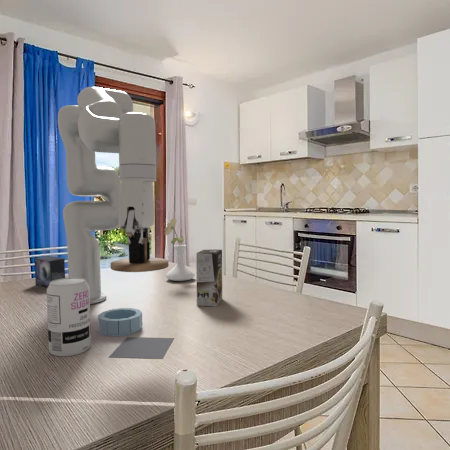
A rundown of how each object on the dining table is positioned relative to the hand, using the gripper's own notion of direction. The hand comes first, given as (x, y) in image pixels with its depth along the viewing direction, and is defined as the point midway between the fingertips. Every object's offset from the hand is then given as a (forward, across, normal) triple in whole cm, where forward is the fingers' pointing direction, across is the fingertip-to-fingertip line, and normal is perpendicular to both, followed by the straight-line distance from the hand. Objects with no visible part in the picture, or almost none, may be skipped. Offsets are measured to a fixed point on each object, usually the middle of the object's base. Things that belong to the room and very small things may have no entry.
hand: (139, 260), depth 79 cm
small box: (+20, -56, -52) cm, 79 cm away
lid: (+1, 0, 0) cm, 1 cm away
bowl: (+19, -10, -8) cm, 23 cm away
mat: (+19, +1, +1) cm, 19 cm away
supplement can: (+19, +3, -14) cm, 24 cm away
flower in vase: (+19, -67, -5) cm, 70 cm away
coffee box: (+19, -36, +11) cm, 42 cm away
